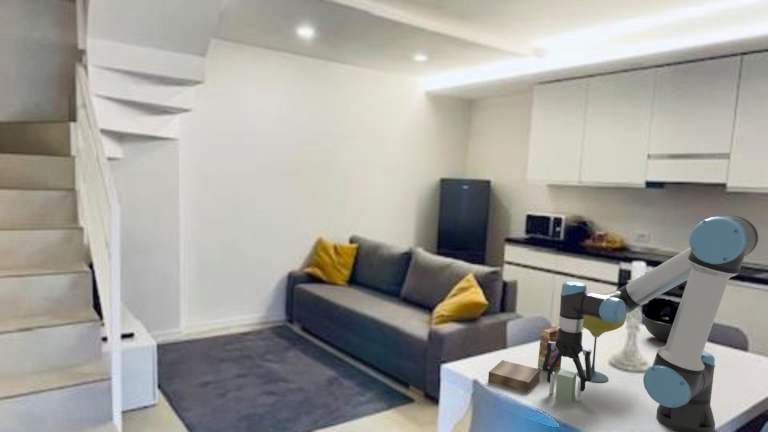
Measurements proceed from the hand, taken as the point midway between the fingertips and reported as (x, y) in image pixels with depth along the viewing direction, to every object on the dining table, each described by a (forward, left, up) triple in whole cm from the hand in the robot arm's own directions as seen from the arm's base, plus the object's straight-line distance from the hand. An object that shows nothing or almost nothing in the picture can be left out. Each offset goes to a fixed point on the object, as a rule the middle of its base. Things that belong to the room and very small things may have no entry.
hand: (564, 395), depth 166 cm
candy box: (+11, -22, 0) cm, 25 cm away
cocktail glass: (-4, -24, 0) cm, 24 cm away
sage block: (0, 0, 0) cm, 0 cm away
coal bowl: (-23, -91, 0) cm, 94 cm away
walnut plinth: (+18, -2, -1) cm, 18 cm away
